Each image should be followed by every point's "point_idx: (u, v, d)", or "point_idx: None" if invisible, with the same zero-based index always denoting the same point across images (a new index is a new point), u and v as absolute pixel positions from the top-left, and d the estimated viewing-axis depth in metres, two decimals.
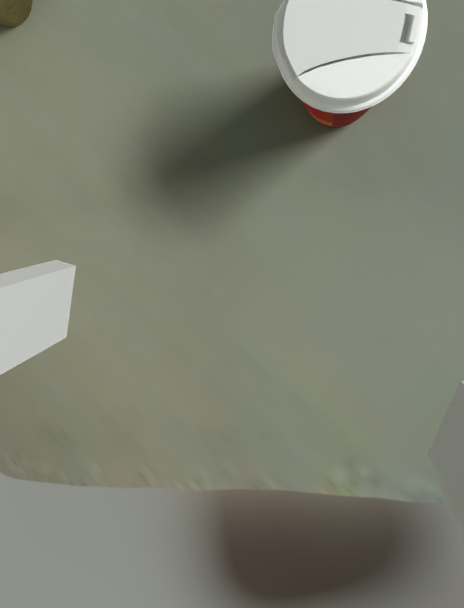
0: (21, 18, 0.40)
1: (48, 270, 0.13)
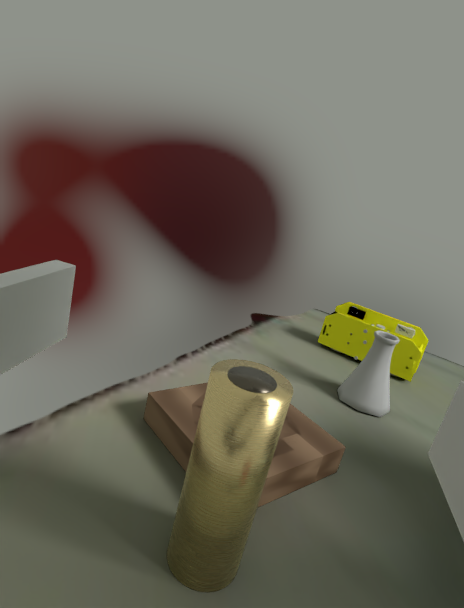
0: (199, 586, 0.27)
1: (48, 270, 0.13)
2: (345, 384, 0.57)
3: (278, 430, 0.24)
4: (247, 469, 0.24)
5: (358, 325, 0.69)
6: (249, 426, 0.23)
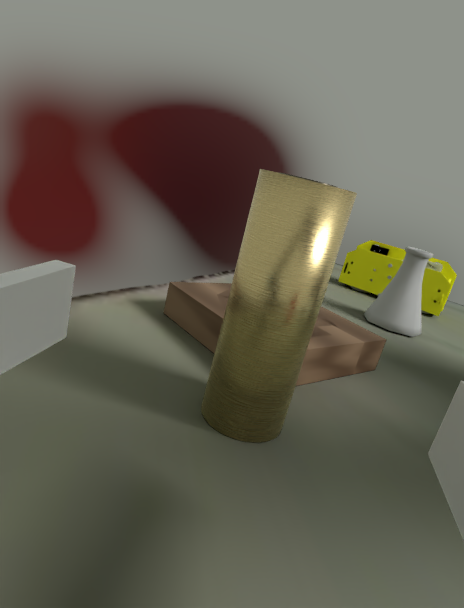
0: (242, 433, 0.23)
1: (48, 270, 0.13)
2: (372, 306, 0.53)
3: (340, 234, 0.21)
4: (304, 277, 0.20)
5: (382, 260, 0.66)
6: (309, 216, 0.19)
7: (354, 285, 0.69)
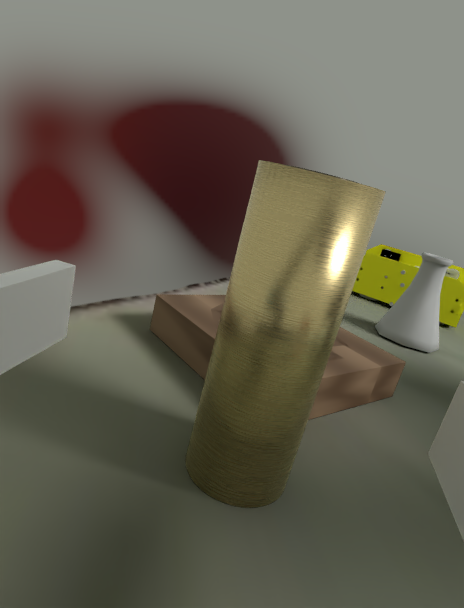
0: (235, 497, 0.18)
1: (49, 270, 0.13)
2: (385, 318, 0.49)
3: (363, 246, 0.16)
4: (316, 302, 0.16)
5: (394, 266, 0.61)
6: (324, 222, 0.15)
7: (363, 293, 0.64)
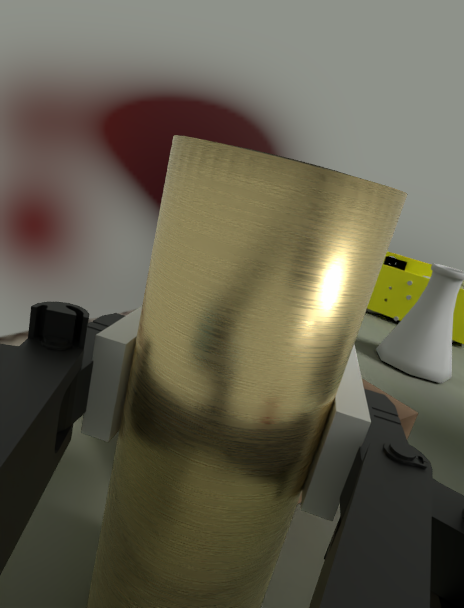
0: None
1: None
2: (387, 340, 0.41)
3: (366, 296, 0.08)
4: (277, 405, 0.08)
5: (400, 276, 0.54)
6: (288, 257, 0.07)
7: None
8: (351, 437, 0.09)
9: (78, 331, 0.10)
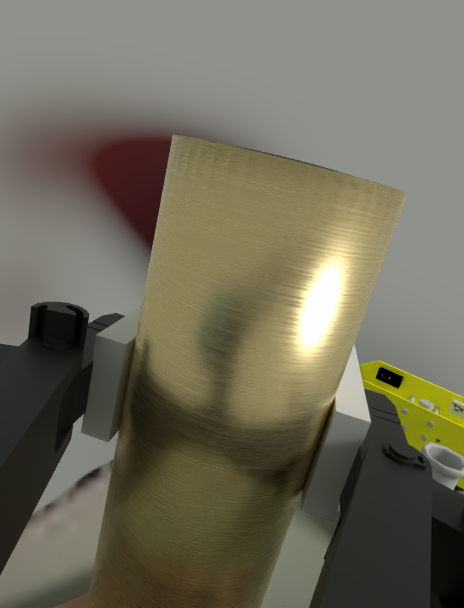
0: None
1: None
2: None
3: (366, 296, 0.08)
4: (276, 405, 0.08)
5: (393, 402, 0.46)
6: (288, 256, 0.07)
7: None
8: (351, 437, 0.09)
9: (78, 331, 0.10)
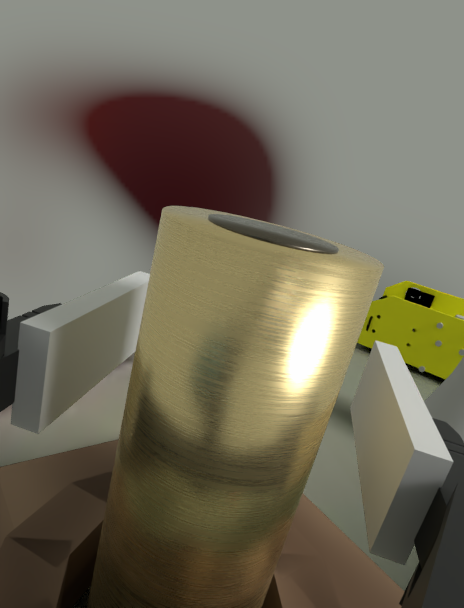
0: None
1: (139, 282, 0.14)
2: None
3: (345, 363, 0.09)
4: (259, 468, 0.09)
5: (427, 316, 0.43)
6: (268, 337, 0.08)
7: None
8: (430, 477, 0.08)
9: None
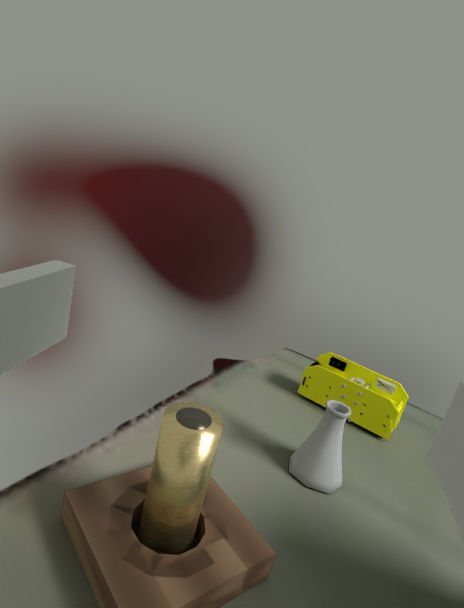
0: None
1: (48, 270, 0.13)
2: (296, 454, 0.54)
3: (211, 455, 0.34)
4: (188, 483, 0.34)
5: (336, 379, 0.69)
6: (188, 453, 0.33)
7: (312, 398, 0.72)
8: None
9: None
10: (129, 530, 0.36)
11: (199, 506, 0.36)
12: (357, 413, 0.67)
